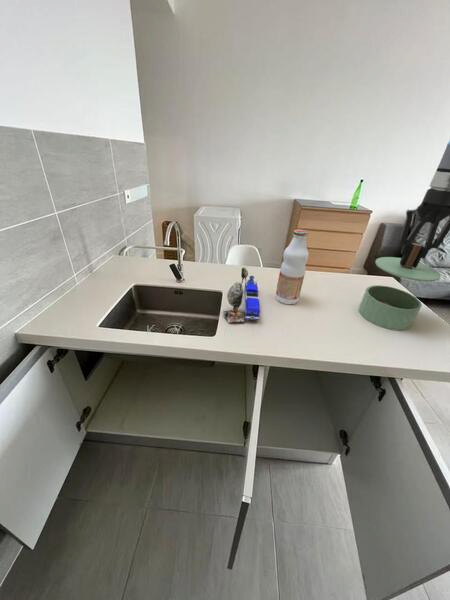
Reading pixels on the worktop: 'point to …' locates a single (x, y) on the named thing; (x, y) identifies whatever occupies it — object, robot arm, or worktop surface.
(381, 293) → the tin
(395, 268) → the tin lid
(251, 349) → the worktop surface
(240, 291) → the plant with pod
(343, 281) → the worktop surface
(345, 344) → the worktop surface
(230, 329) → the worktop surface
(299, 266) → the fruit juice
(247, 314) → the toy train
